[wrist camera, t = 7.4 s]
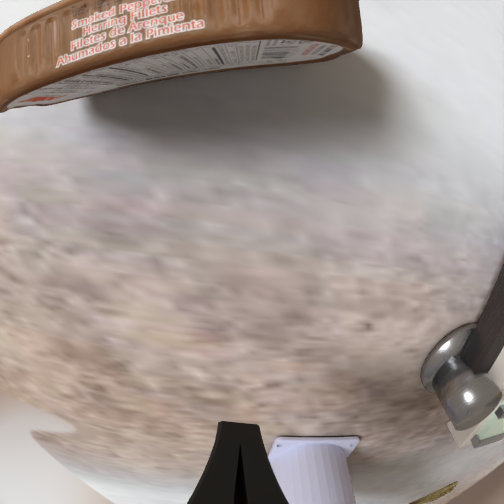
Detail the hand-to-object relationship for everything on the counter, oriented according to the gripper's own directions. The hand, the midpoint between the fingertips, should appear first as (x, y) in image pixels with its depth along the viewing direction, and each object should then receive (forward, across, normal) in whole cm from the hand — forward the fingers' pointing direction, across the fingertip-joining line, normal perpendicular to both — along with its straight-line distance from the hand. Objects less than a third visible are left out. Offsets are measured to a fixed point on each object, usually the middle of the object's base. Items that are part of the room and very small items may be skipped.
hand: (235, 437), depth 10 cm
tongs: (+10, -38, +38) cm, 54 cm away
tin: (+10, +5, -13) cm, 17 cm away
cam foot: (+9, -22, -1) cm, 23 cm away
